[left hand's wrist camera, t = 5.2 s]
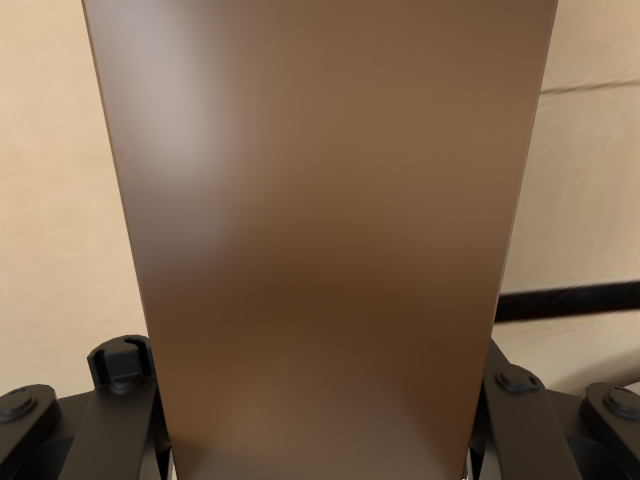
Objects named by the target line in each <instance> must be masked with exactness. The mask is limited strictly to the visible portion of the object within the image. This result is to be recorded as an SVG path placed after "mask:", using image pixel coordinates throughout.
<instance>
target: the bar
mask: <svg viewBox="0 0 640 480" xmlns="http://www.w3.org/2000/svg"><path fill="white" fill-rule="evenodd" d="M81 1H82V6H83V11H84V16H85V21H86V26H87V31H88V36H89V41H90V46H91V51H92V56H93V61H94V66H95V71H96V76H97V81H98V86H99V91H100V96H101V101H102V106H103V111H104V116H105V121H106V126H107V131H108V136H109V141H110V146H111V151H112V156H113V161H114V166H115V171H116V176H117V181H118V186H119V191H120V196H121V201H122V206H123V211H124V216H125V221H126V226H127V231H128V236H129V241H130V246H131V251H132V256H133V261H134V266H135V271H136V276H137V281H138V286H139V291H140V296H141V301H142V306H143V311H144V316H145V321H146V326H147V331H148V336H149V341H150V346H151V351H152V356H153V361H154V366H155V371H156V376H157V381H158V386H159V391H160V396H161V401H162V406H163V411H164V416H165V421H166V426H167V431H168V436H169V441H170V446H171V451H172V456H173V461H174V466H175V471H176V476H177V480H462V479H463V474H464V469H465V464H466V459H467V454H468V449H469V444H470V439H471V434H472V429H473V424H474V419H475V414H476V409H477V404H478V399H479V394H480V389H481V384H482V379H483V374H484V369H485V364H486V359H487V354H488V349H489V344H490V339H491V334H492V329H493V324H494V319H495V314H496V309H497V304H498V299H499V294H500V289H501V284H502V279H503V274H504V269H505V264H506V259H507V254H508V249H509V244H510V239H511V234H512V229H513V224H514V219H515V214H516V209H517V204H518V199H519V194H520V189H521V184H522V179H523V174H524V169H525V164H526V159H527V154H528V149H529V144H530V139H531V134H532V129H533V124H534V119H535V114H536V109H537V104H538V99H539V94H540V89H541V84H542V79H543V74H544V69H545V64H546V59H547V54H548V49H549V44H550V39H551V34H552V29H553V24H554V19H555V14H556V9H557V4H558V0H81Z"/></svg>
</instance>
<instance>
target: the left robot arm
mask: <svg viewBox="0 0 640 480" xmlns="http://www.w3.org/2000/svg"><path fill="white" fill-rule="evenodd" d="M87 361H88V364H89V368H90V371H91V375H92V378H93V382H94V386H95V389H94V390H93V391H90V392H87V393H82V394H78V395H73V396H69V397H65V398H60V399H57V396H56V393H55V390H54V389H53V388H52V387H50V386H49V385H42V384H36V385H30V386H25V387H22V388H19V389H16V390H13V391H11V392H9V393H7V394H5V395H3V396H1V397H0V480H172V471H173V456H172V451H171V446H170V441H169V436H168V431H167V426H166V421H165V416H164V411H163V406H162V401H161V396H160V391H159V386H158V381H157V376H156V371H155V366H154V361H153V356H152V351H151V346H150V341H149V339H148V338H147V337H146V336H141V335H125V336H121V337H117V338H113V339H111V340H109V341H107V342H104V343H102V344H101V345H99V346H98V347H96V348H95V349H94V350H92V352H91V353H90V354H89V355H88V357H87ZM467 475H468V480H640V395H638V394H637V393H635V392H633V391H631V390H629V389H626V388H624V387H621V386H617V385H614V384H608V383H594V384H590V385H589V386H588V387H587V388H586V389H585V392H584V395H583V398H582V397H578V396H573V395H569V394H564V393H560V392H555V391H552V390H548V389H546V388H545V386H544V385H543V383H542V382H541V380H540V379H539V378H538V377H536V376H535V375H534V374H533V373H531V372H530V371H528V370H526V369H524V368H522V367H520V366H517V365H513V364H510V363H509V361H508V360H507V358H506V357H505V356H504V354H503V353H502V352H501V350H500V349H499V348H498V346H497V345H496V344H495V342H494V341H493V340H492V338H491V339H490V344H489V349H488V354H487V359H486V364H485V369H484V374H483V379H482V384H481V389H480V394H479V399H478V404H477V409H476V414H475V419H474V424H473V429H472V434H471V439H470V444H469V449H468V454H467V459H466V464H465V469H464V474H463V479H465V480H467Z"/></svg>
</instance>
